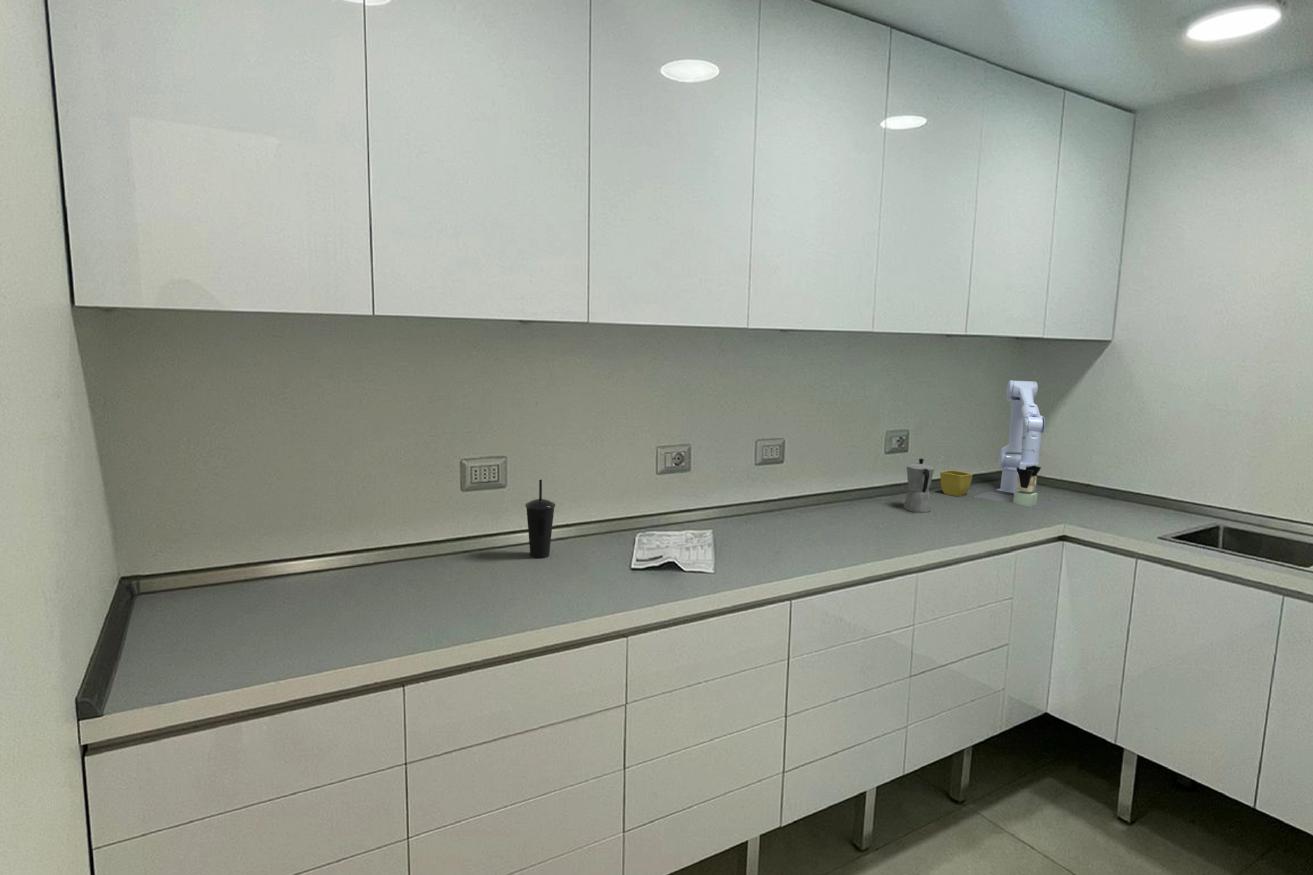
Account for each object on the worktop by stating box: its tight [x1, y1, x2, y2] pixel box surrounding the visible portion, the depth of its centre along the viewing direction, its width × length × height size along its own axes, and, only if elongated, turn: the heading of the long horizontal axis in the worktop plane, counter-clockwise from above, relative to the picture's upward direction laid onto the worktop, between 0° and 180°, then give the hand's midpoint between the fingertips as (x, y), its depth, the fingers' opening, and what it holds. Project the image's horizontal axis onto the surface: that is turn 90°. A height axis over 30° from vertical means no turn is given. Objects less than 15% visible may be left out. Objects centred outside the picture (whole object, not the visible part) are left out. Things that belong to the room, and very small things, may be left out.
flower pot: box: [939, 469, 974, 497], centre depth 275 cm, size 9×9×9 cm
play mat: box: [972, 491, 1056, 510], centre depth 269 cm, size 15×24×1 cm, turn 43°
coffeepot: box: [903, 458, 936, 513], centre depth 249 cm, size 15×9×18 cm, turn 175°
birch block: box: [1016, 475, 1038, 492], centre depth 262 cm, size 5×5×5 cm
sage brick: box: [1013, 490, 1039, 506], centre depth 263 cm, size 6×6×4 cm
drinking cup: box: [524, 479, 556, 559], centre depth 185 cm, size 8×8×20 cm
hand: (1026, 486), depth 262 cm, fingers closed on birch block, 5 cm apart
